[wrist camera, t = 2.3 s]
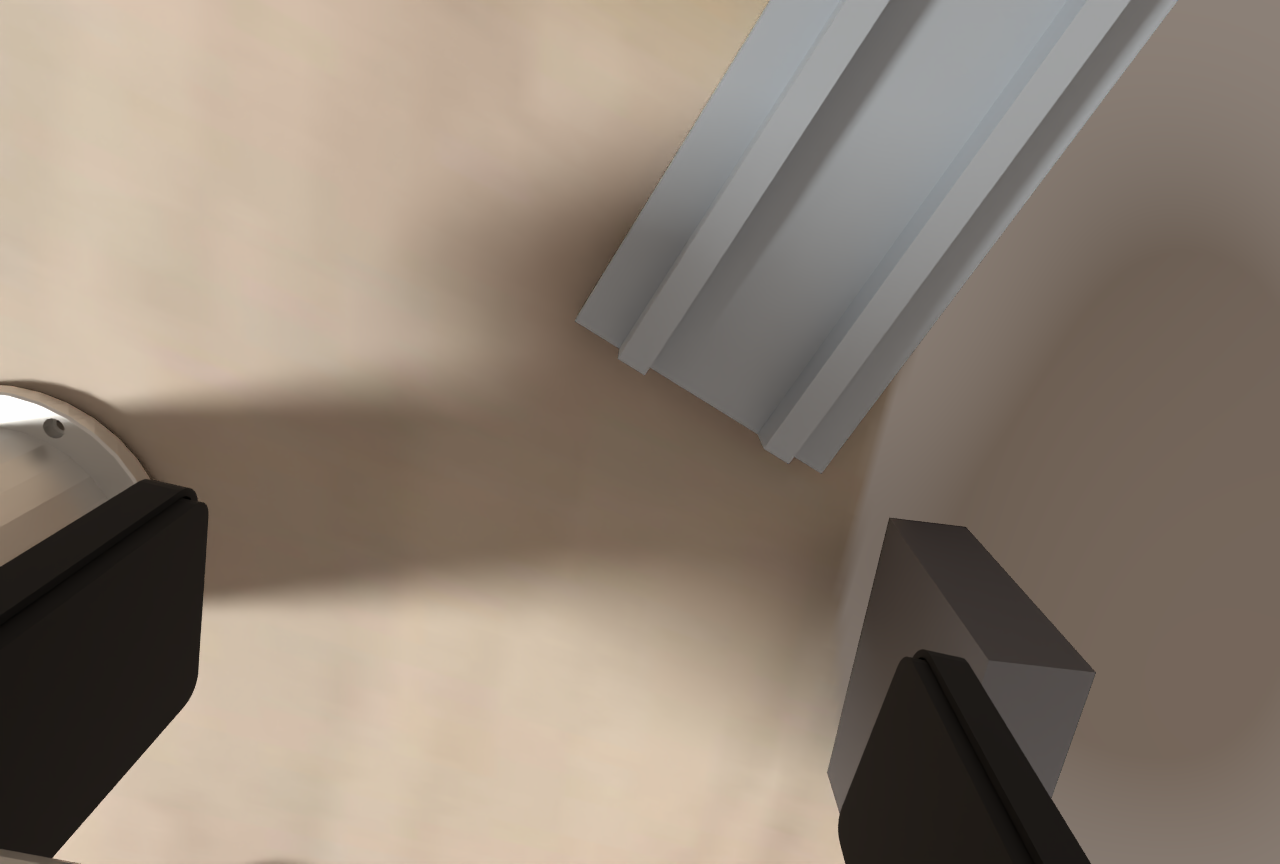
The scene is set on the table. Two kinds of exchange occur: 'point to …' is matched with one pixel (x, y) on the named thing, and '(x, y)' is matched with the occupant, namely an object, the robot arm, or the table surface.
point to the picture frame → (961, 646)
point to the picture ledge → (849, 197)
